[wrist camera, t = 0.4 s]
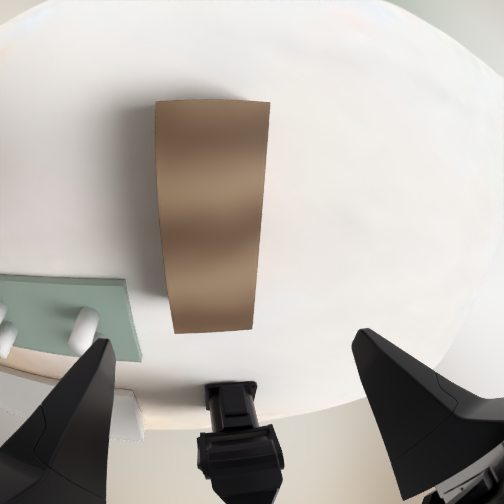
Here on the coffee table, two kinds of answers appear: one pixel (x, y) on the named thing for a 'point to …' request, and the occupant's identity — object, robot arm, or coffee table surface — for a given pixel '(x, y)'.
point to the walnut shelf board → (211, 209)
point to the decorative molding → (37, 388)
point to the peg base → (66, 315)
